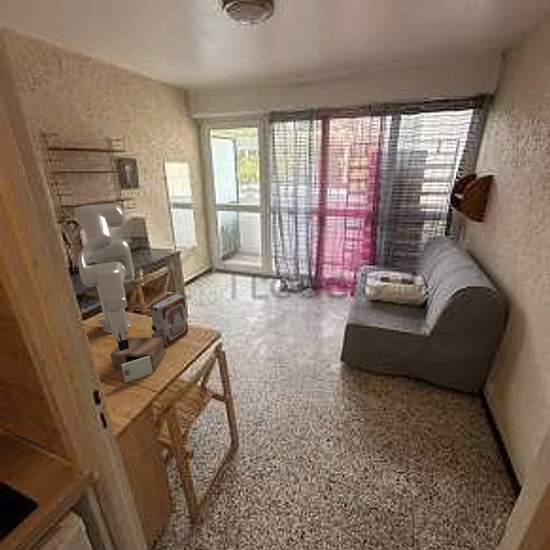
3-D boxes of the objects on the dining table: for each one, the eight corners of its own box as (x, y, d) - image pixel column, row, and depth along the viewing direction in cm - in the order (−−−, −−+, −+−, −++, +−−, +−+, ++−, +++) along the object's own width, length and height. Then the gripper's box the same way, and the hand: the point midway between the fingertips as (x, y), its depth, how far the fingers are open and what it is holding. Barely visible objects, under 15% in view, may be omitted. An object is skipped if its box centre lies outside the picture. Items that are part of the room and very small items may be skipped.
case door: (125, 384, 120) (122, 367, 117) (124, 381, 121) (121, 364, 119) (153, 374, 125) (151, 358, 122) (152, 372, 126) (149, 355, 124)
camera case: (114, 371, 127) (110, 354, 125) (128, 353, 139) (124, 337, 136) (154, 371, 127) (151, 354, 124) (165, 354, 138) (162, 337, 135)
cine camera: (144, 349, 142) (136, 307, 135) (176, 329, 158) (171, 291, 151) (159, 355, 138) (152, 312, 131) (191, 333, 154) (186, 294, 147)
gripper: (100, 298, 118) (110, 343, 124) (105, 313, 106) (116, 362, 112) (122, 293, 122) (131, 337, 128) (130, 307, 110) (139, 354, 116)
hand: (124, 348), depth 120 cm, fingers closed
